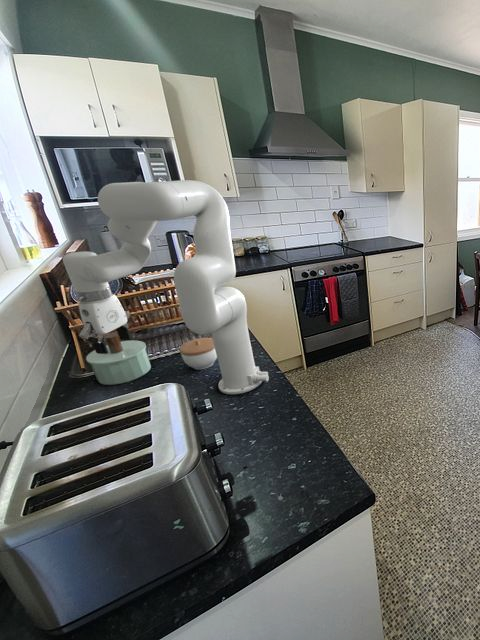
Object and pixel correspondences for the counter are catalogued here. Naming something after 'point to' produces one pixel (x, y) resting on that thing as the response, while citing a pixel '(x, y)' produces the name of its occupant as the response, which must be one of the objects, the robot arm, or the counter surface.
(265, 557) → the counter surface
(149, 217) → the robot arm
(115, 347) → the bowl lid
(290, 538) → the counter surface
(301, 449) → the counter surface
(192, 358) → the trinket box
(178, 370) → the counter surface
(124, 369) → the bowl
